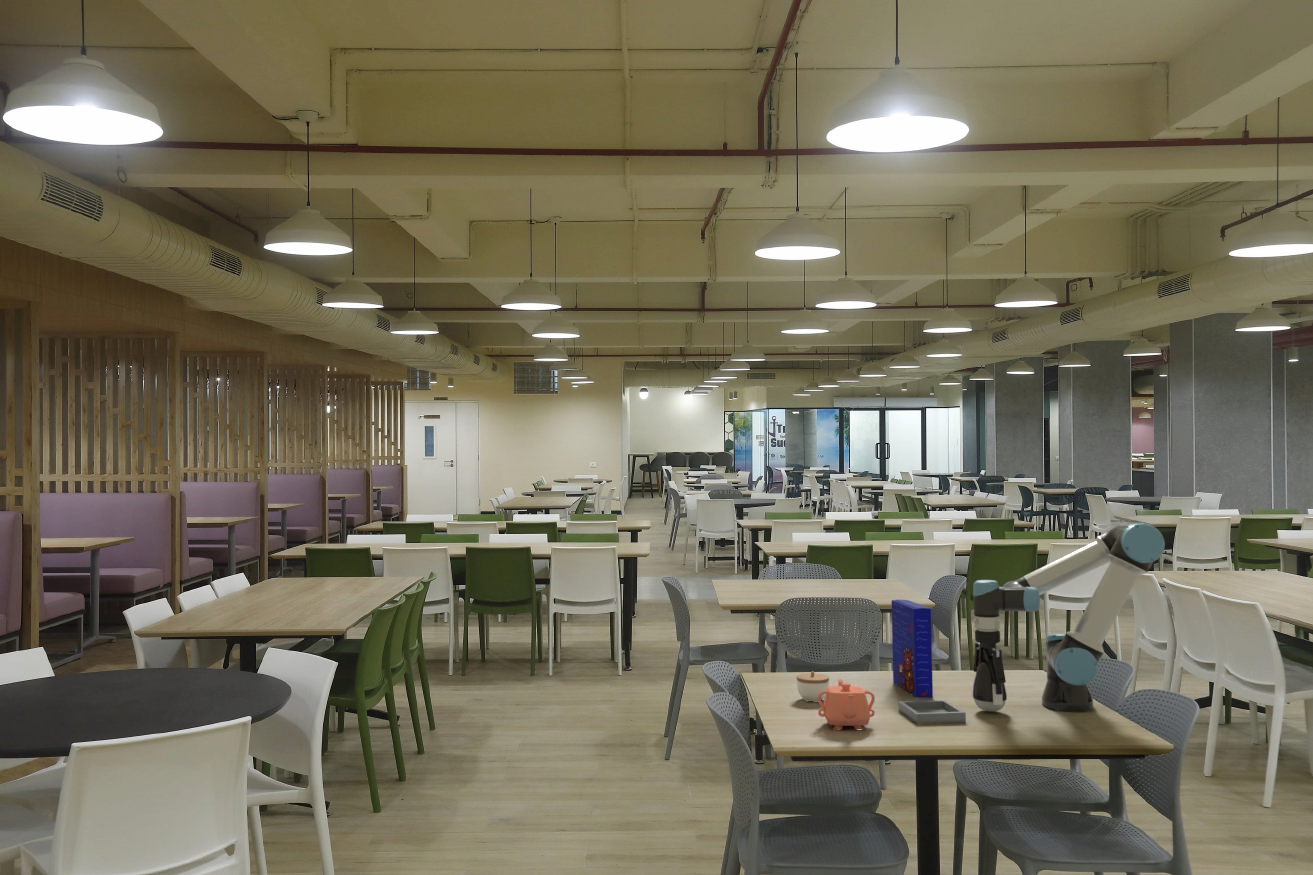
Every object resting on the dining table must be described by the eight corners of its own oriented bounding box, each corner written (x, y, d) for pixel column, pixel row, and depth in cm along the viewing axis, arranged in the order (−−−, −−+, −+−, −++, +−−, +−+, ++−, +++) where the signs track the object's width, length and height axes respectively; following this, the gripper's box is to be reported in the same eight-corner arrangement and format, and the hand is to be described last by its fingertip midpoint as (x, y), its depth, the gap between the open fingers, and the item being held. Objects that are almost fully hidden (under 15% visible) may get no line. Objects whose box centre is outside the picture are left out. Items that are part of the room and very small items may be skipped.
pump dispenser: (1015, 710, 281) (1013, 661, 282) (988, 714, 277) (986, 665, 278) (991, 703, 291) (990, 656, 291) (966, 707, 287) (964, 659, 288)
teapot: (852, 736, 259) (851, 692, 260) (808, 724, 272) (807, 682, 272) (884, 727, 269) (883, 684, 269) (840, 715, 281) (839, 675, 282)
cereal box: (932, 696, 304) (930, 607, 306) (915, 697, 304) (913, 608, 305) (909, 682, 326) (907, 599, 327) (893, 682, 326) (891, 599, 327)
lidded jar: (829, 704, 296) (829, 675, 296) (796, 703, 298) (796, 674, 298) (828, 696, 306) (828, 668, 307) (797, 695, 308) (796, 667, 309)
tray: (945, 709, 288) (945, 699, 288) (965, 722, 273) (965, 712, 273) (898, 710, 287) (898, 701, 287) (916, 724, 271) (916, 713, 271)
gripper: (960, 624, 296) (963, 692, 295) (991, 635, 274) (994, 709, 273) (982, 623, 297) (985, 691, 296) (1015, 634, 274) (1018, 708, 273)
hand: (990, 700), depth 284 cm, fingers closed on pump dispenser, 10 cm apart
